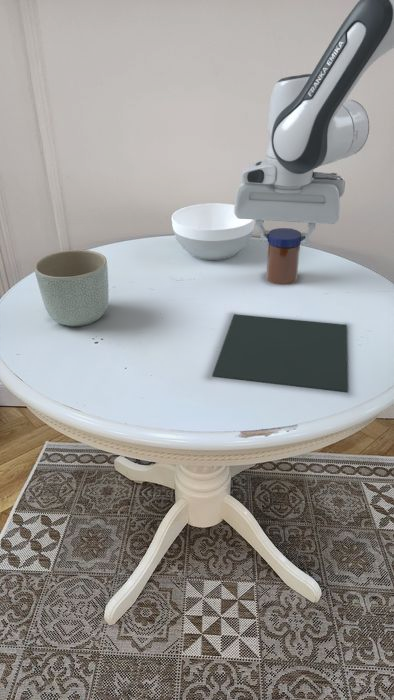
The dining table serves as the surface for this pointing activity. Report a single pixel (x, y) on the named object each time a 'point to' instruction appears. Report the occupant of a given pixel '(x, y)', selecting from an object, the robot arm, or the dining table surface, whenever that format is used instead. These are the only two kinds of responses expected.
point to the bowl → (211, 230)
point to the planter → (74, 286)
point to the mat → (285, 353)
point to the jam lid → (284, 237)
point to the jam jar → (282, 264)
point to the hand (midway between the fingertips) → (284, 241)
